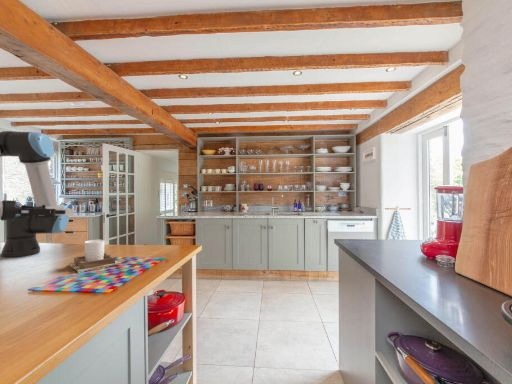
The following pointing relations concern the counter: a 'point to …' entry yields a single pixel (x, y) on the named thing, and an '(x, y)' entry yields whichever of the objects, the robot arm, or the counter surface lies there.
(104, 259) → the cup holder
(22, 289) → the counter surface
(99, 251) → the white cup
